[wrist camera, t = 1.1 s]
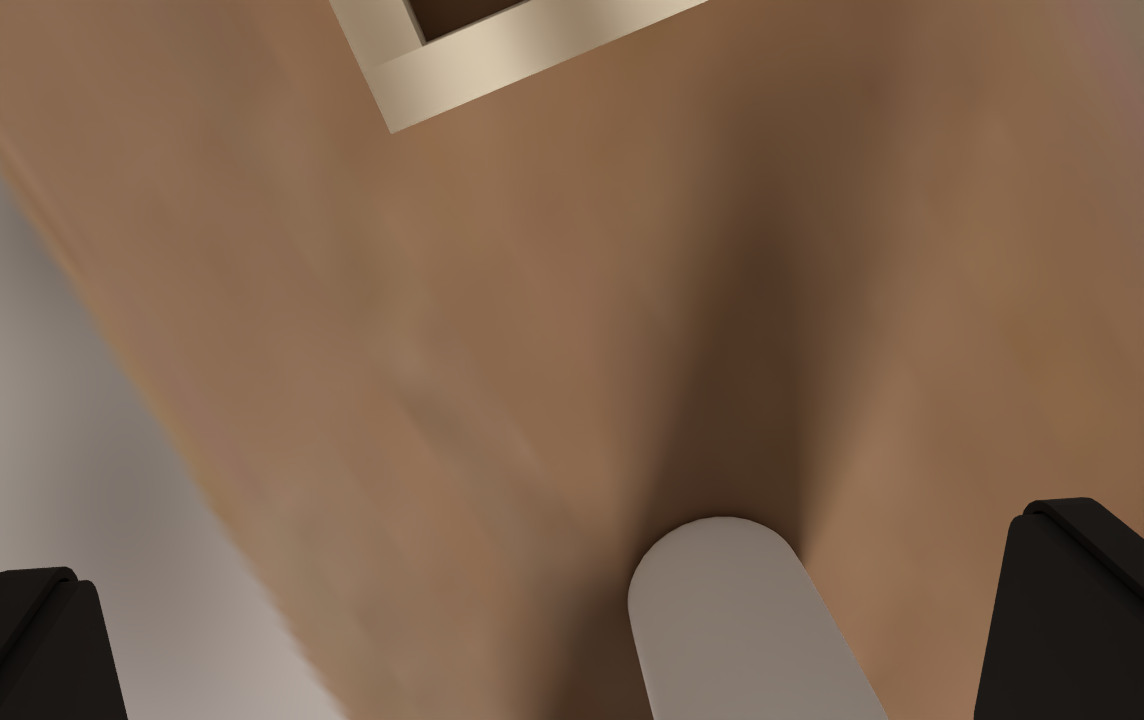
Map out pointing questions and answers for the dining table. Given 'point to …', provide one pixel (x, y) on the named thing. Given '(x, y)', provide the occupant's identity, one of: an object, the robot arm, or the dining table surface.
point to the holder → (478, 47)
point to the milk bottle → (740, 631)
